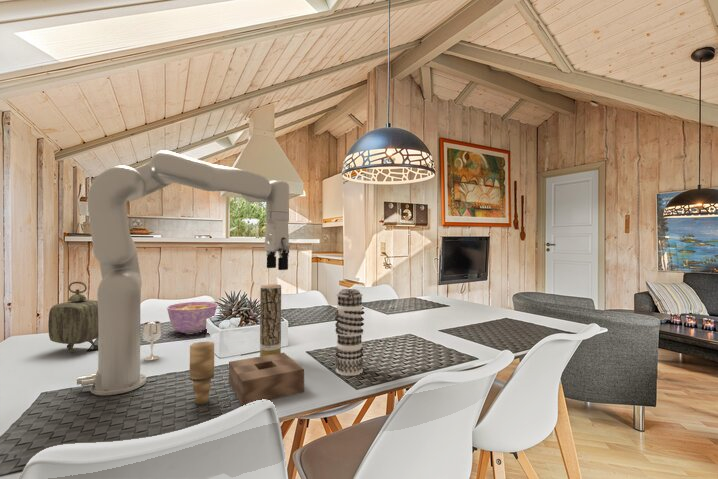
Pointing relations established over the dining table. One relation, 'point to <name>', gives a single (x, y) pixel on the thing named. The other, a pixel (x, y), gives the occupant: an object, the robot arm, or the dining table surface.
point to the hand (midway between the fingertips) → (277, 268)
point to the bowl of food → (191, 316)
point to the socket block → (265, 377)
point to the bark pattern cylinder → (270, 319)
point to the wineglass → (151, 335)
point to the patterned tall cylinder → (349, 332)
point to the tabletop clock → (74, 320)
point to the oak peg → (201, 369)
